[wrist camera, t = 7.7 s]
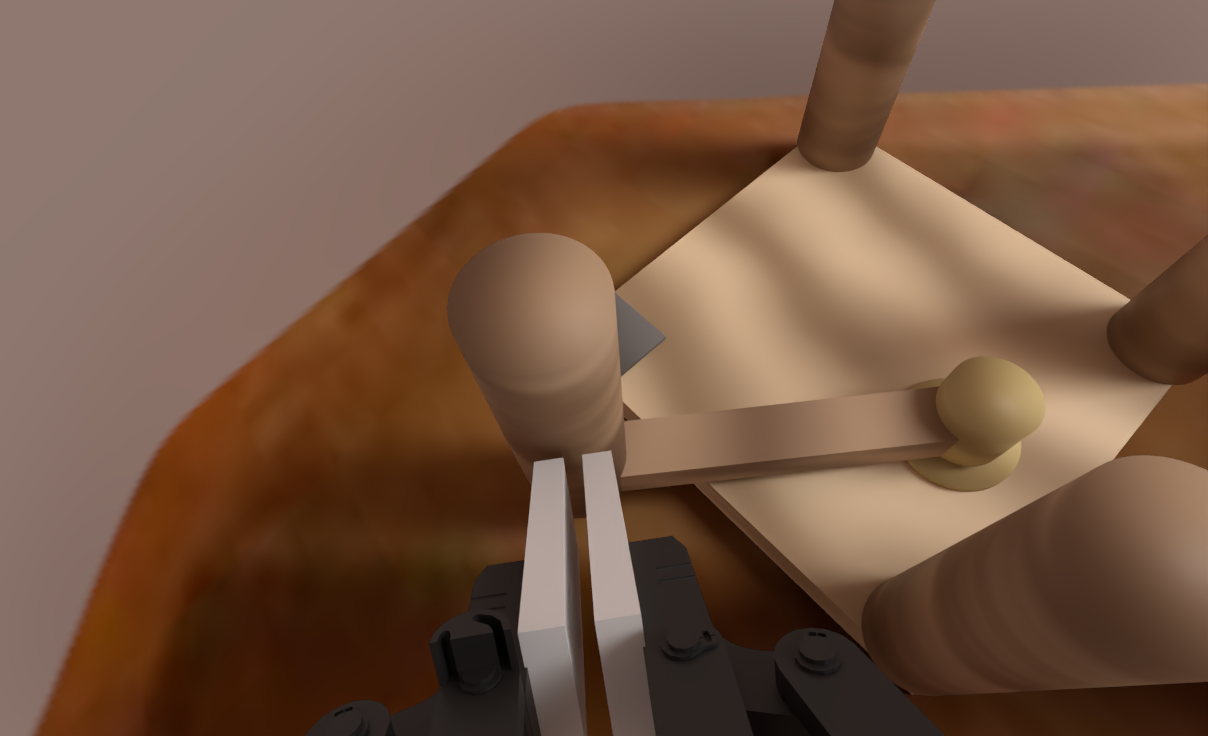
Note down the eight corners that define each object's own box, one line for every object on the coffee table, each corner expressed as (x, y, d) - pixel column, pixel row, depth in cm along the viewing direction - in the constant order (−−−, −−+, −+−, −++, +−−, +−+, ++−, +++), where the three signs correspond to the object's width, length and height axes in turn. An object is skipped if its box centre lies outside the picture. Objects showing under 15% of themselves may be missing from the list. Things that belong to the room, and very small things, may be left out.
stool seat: (818, 129, 34) (910, -176, 22) (1197, 362, 26) (1631, 88, 15) (535, 355, 28) (458, 107, 17) (912, 727, 21) (1243, 747, 9)
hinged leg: (984, 378, 24) (1210, 157, 15) (1023, 469, 23) (1307, 287, 13) (527, 429, 24) (448, 242, 15) (531, 523, 23) (445, 382, 13)
